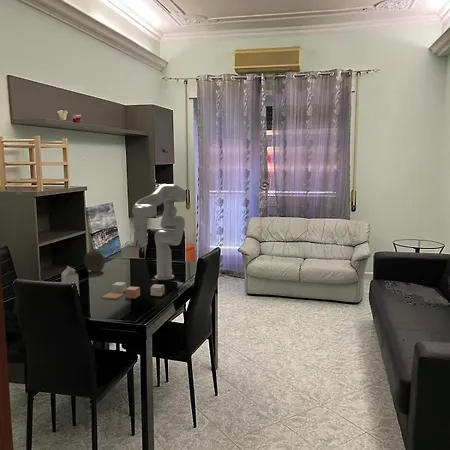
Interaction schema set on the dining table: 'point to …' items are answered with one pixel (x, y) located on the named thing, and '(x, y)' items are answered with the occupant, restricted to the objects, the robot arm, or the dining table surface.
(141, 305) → the dining table surface
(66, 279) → the milk carton
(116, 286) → the sage block
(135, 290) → the terracotta block
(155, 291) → the cream block
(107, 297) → the colour tile
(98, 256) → the cantaloupe
